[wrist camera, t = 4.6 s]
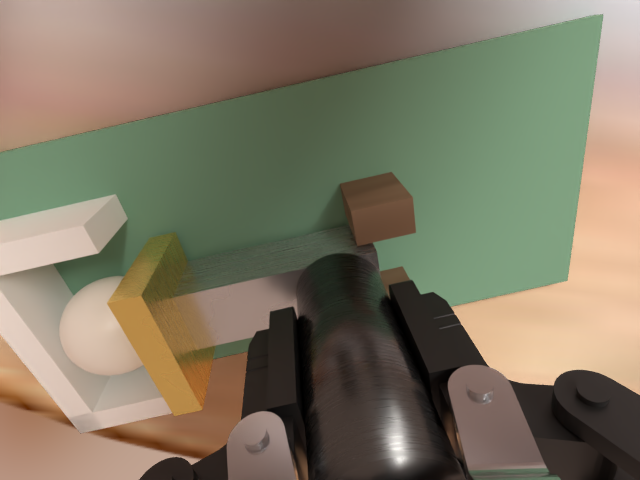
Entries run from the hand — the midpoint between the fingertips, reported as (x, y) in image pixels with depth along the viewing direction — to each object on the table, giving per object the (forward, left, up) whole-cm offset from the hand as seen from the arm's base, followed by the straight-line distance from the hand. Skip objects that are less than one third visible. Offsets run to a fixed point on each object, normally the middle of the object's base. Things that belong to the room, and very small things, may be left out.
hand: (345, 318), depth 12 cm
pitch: (-1, -1, -5) cm, 5 cm away
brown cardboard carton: (0, +2, -5) cm, 5 cm away
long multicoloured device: (0, -3, -4) cm, 5 cm away
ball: (0, -8, -2) cm, 9 cm away
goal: (0, -9, -5) cm, 10 cm away
